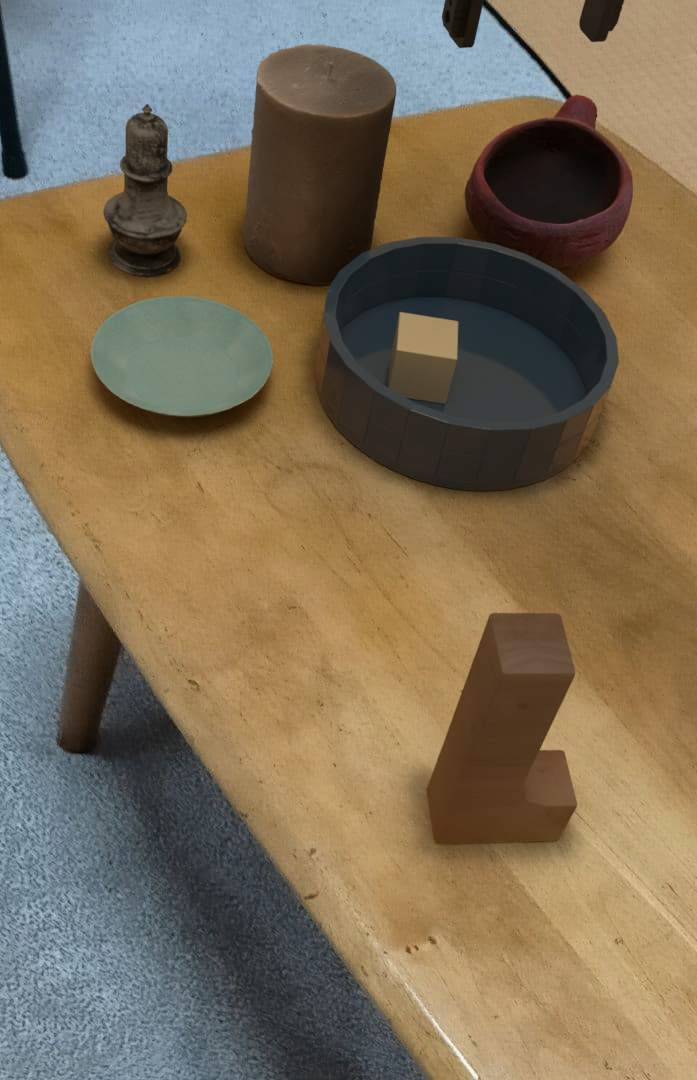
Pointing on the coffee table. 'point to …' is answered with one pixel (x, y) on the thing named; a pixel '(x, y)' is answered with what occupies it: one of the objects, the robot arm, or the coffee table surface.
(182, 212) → the salt shaker
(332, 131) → the pillar candle
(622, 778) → the coffee table surface
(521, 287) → the bowl
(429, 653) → the coffee table surface
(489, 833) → the wooden block
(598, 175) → the bowl
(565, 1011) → the coffee table surface
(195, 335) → the saucer
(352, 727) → the coffee table surface
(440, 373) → the cube
